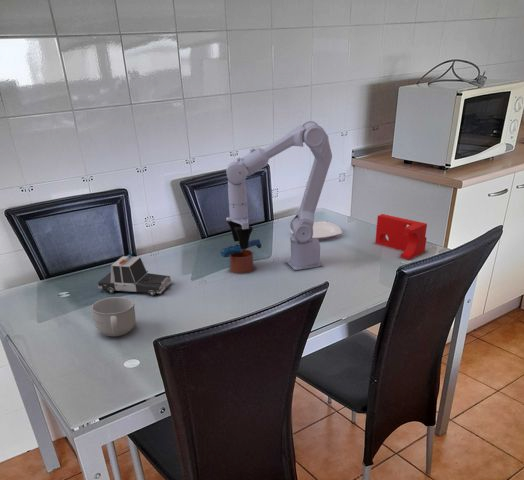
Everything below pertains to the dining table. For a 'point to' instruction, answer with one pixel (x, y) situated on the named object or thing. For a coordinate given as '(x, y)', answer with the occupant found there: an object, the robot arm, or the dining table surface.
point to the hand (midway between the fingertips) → (240, 244)
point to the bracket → (401, 235)
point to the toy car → (133, 277)
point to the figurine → (238, 248)
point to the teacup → (114, 315)
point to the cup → (242, 262)
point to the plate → (325, 230)
